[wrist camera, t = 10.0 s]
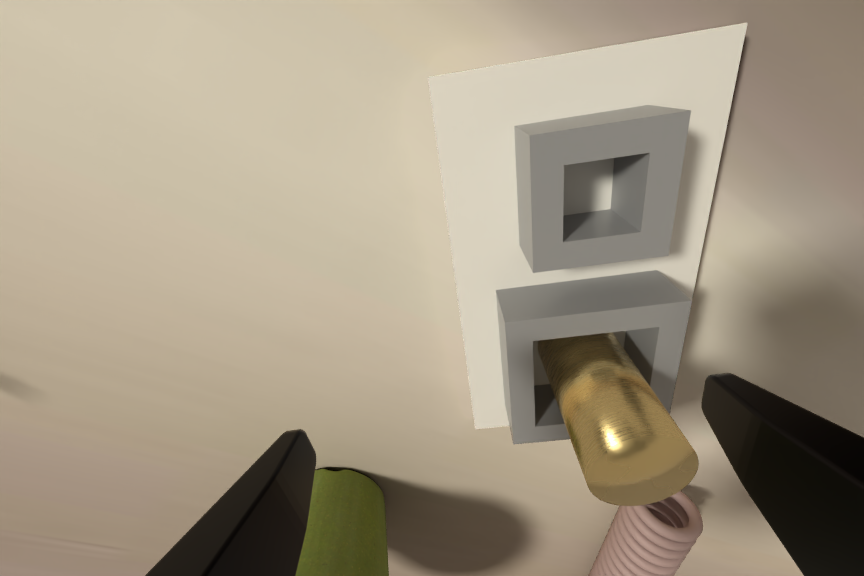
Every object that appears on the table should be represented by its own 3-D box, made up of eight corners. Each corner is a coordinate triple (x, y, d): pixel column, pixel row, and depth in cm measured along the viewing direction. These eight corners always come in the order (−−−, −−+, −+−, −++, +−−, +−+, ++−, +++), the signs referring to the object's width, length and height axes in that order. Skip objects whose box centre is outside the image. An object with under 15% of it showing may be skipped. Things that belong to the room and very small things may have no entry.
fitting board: (729, 25, 15) (818, 9, 12) (661, 398, 25) (699, 452, 21) (427, 76, 16) (425, 76, 13) (473, 417, 26) (479, 471, 22)
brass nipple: (614, 308, 20) (708, 431, 13) (608, 367, 22) (688, 501, 15) (537, 317, 21) (589, 441, 14) (538, 374, 22) (584, 509, 15)
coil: (645, 527, 24) (581, 649, 33) (723, 538, 24) (638, 658, 33) (622, 463, 28) (570, 586, 37) (688, 471, 28) (621, 594, 37)
